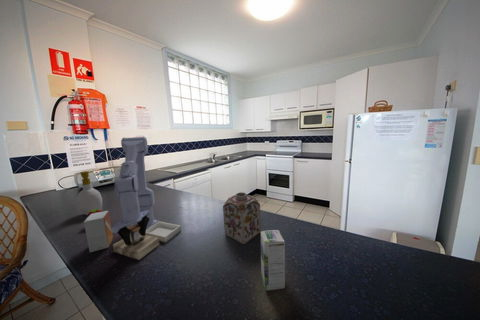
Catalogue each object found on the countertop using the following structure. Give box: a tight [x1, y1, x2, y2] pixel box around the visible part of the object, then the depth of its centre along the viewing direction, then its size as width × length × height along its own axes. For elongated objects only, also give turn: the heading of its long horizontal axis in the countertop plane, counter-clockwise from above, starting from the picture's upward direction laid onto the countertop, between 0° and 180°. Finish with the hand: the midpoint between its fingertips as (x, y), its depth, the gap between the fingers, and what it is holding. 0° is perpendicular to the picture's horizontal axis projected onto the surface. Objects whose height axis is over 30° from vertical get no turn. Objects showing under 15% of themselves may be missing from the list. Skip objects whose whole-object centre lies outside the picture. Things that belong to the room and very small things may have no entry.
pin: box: [127, 224, 141, 246], centre depth 67 cm, size 4×4×9 cm
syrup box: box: [260, 229, 286, 292], centre depth 48 cm, size 6×6×14 cm
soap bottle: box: [76, 170, 103, 216], centre depth 101 cm, size 14×9×26 cm, turn 79°
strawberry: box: [87, 207, 104, 218], centre depth 88 cm, size 6×8×10 cm
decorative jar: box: [222, 191, 262, 245], centre depth 73 cm, size 12×12×18 cm
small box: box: [83, 210, 114, 253], centre depth 70 cm, size 8×6×13 cm
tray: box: [145, 220, 182, 243], centre depth 77 cm, size 13×9×2 cm
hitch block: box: [112, 232, 160, 261], centre depth 68 cm, size 14×9×3 cm, turn 68°
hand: (135, 239), depth 67 cm, fingers open, 6 cm apart
